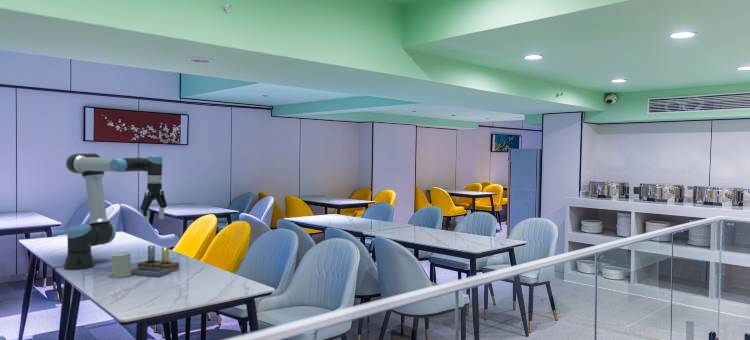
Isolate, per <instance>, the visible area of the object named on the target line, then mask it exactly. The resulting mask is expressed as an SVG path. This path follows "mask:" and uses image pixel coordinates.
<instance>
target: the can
mask: <svg viewBox="0 0 750 340" xmlns="http://www.w3.org/2000/svg"><path fill="white" fill-rule="evenodd" d="M131 261H132V260H131V252H128V251H123V252H115V253H112V254H111V265H112V266H111V269H112V275H111V276H112V277H113V278H116V279H118V278H119V279H120V278H126V277H129V276H132V275H131V274H132V273H131V270H132V265H131Z"/></svg>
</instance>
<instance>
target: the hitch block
mask: <svg viewBox="0 0 750 340" xmlns="http://www.w3.org/2000/svg"><path fill="white" fill-rule="evenodd" d="M138 267H151V268H163V269H169V274H170V273H173V272H176V271H178V270H179V269H180V262H179V261H178V262H175V261H169V264H167V265H164V264H162V260H155V263H148V259H147V260H144V261H141V262H138V263H137V268H138Z"/></svg>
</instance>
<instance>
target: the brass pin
mask: <svg viewBox="0 0 750 340" xmlns="http://www.w3.org/2000/svg"><path fill="white" fill-rule="evenodd" d="M161 261H162V264H164V265H167V264H169V262H170V247H169V246H162V247H161Z"/></svg>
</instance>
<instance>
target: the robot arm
mask: <svg viewBox="0 0 750 340" xmlns="http://www.w3.org/2000/svg"><path fill="white" fill-rule="evenodd" d="M65 166H66V169H67V170H68V171H69V172H71V173H73V174H78V175H79V174H80V175H81V178H82V179H84V180H85V187H86V196H87V205H88V211H89V213H88V214H89V221H88V222H87V223H86V224H85V223H83V224H76V225H73V226H70V227H69V228H68V230H67V235H66V237H67V255H66V257H65V262H64V263H63V269H65V270H85V269H91V268H94V267H95V260H94V258H93V257H94V256H93V253H92V247H94V246H95V247H96V246H100V245H101V246H102V245H106V244H110V243H111V242H113V240H114V239H115V238H116V235H117V234H116V233H117V231H116V227H115V226H114V224H112V223H111V221H110V219H109V218H107V209H106V202H105V201H106V200H105V194H104V185H103V177H104V176H105V173H106V172H114V173H126V172H146V173H147V179H146V180H147V181H146V182H147V184H146V189H147V190H148V191H145V192H144V197H143V199H142V202H141V206H140V208H139V209H140V210H141V211H143V213H142V215H143V223H149V221H150V220H149V219H150V210H149V208H150V206H151V204H152V202H153V201H154V200H156V201H157V204H158V206H159V207H158V220H164V218H165V208H166V207H167V206H168V204H167V200H166V197H165V191H164V190H162V189H163V184H162V182H163V156H162V155H161V154H148V156H147V157H105V156H103V155H102V154H100V153H90V152H89V153H74V154H71V155H69V156H68V157H67V158H66V161H65Z"/></svg>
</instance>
